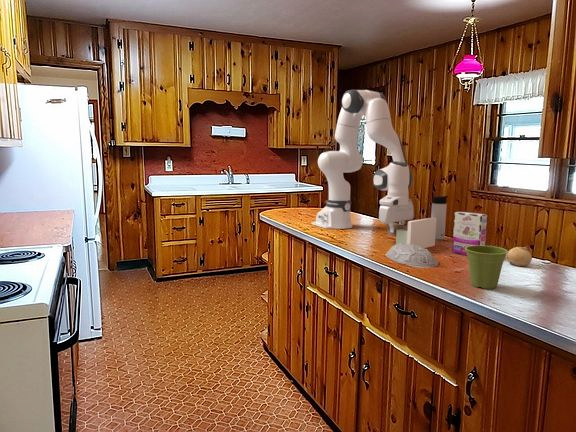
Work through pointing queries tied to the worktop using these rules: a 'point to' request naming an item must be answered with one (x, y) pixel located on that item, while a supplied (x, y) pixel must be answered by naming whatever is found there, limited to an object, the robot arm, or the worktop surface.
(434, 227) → the post block
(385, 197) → the robot arm
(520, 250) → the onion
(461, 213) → the candy bar box
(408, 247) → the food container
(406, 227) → the rail
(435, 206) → the travel mug
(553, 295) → the worktop surface
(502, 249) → the plant pot
